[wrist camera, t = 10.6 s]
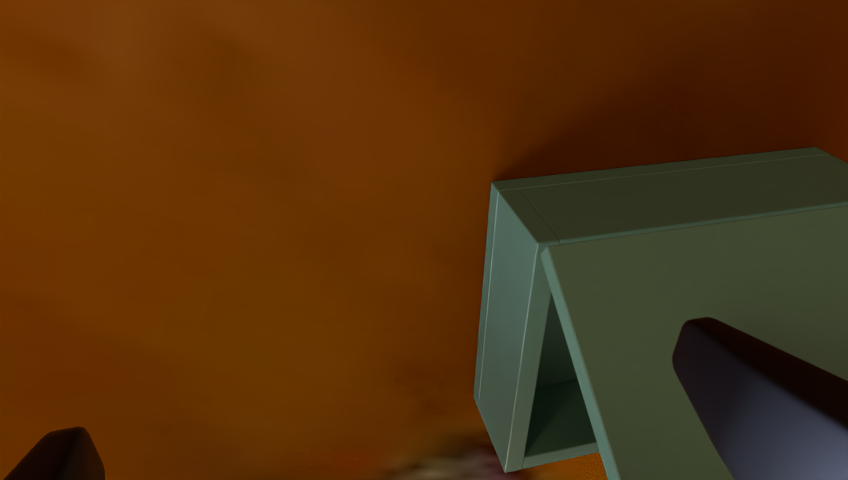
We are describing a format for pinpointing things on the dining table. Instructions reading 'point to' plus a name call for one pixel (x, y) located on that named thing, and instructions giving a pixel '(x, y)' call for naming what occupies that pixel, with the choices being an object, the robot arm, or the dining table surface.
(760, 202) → the keepsake box
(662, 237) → the box lid
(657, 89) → the dining table surface
